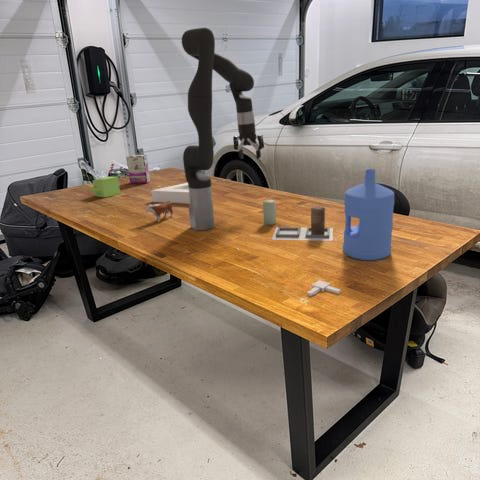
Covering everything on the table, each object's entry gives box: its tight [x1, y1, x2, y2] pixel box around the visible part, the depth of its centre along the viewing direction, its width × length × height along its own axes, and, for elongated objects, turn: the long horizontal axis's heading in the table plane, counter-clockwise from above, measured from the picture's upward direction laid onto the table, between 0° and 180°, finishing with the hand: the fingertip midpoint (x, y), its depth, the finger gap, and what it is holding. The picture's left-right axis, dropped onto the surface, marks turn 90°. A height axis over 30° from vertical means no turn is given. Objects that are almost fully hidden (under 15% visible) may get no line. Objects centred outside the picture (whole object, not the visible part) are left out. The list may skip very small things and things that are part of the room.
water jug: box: [342, 168, 395, 261], centre depth 148 cm, size 16×16×28 cm
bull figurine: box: [145, 201, 174, 223], centre depth 199 cm, size 4×13×8 cm, turn 137°
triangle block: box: [150, 182, 190, 205], centre depth 235 cm, size 30×26×6 cm
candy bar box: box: [126, 154, 151, 185], centre depth 269 cm, size 11×5×16 cm, turn 80°
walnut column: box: [310, 205, 326, 235], centre depth 168 cm, size 5×5×10 cm
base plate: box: [271, 226, 334, 242], centre depth 171 cm, size 22×14×2 cm, turn 78°
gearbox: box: [89, 176, 121, 198], centre depth 248 cm, size 18×10×10 cm, turn 144°
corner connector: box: [306, 279, 342, 297], centre depth 128 cm, size 8×8×2 cm
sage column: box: [262, 199, 277, 227], centre depth 183 cm, size 5×5×10 cm
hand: (250, 158), depth 206 cm, fingers open, 8 cm apart
